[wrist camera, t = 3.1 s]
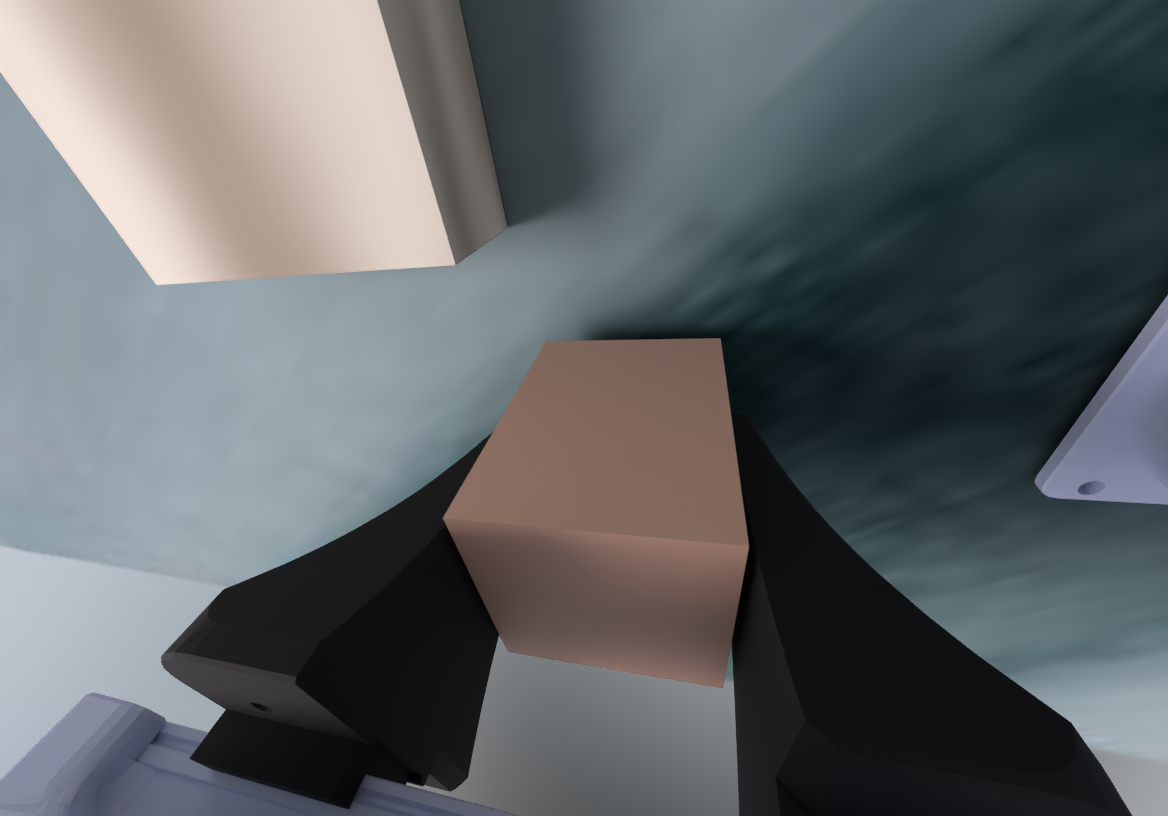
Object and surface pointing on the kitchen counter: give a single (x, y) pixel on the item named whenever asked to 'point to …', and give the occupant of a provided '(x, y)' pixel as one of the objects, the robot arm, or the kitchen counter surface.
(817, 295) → the kitchen counter surface
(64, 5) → the base
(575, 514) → the terracotta block
